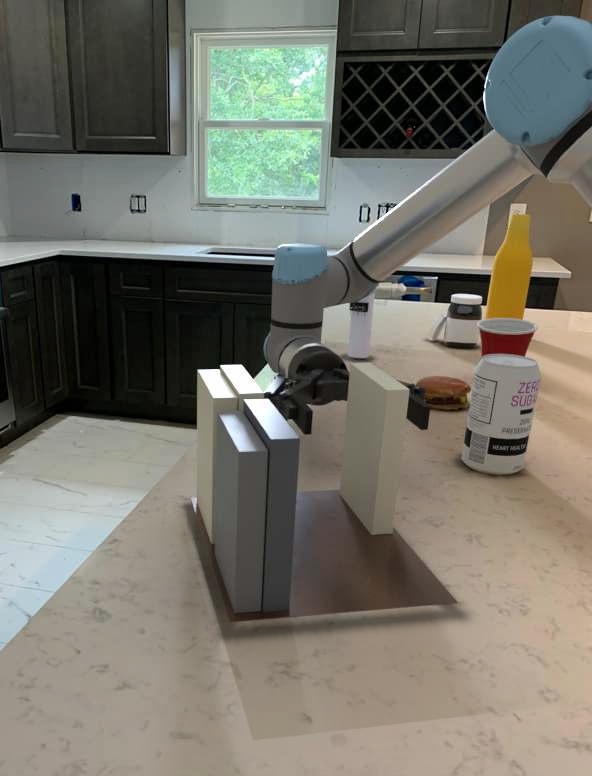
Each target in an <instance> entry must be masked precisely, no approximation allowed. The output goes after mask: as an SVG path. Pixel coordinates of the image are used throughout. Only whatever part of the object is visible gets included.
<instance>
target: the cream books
mask: <svg viewBox="0 0 592 776" xmlns="http://www.w3.org/2000/svg"><path fill="white" fill-rule="evenodd" d="M196 371H197V372H196V373H197V374H196V376H197V377H196V379H197V380H196V411H197V412H196V497H197V503H198V506H199V509H200V512H201V515H202V518H203V521H204V524H205V527H206V530H207V533H208V536H209V539H210V542H211V544H215V511H216V446H217V412H222V411H243V402H244V400H249V399H264V391H263V389H261V387H260V386H259V384H258V383H257V382H256V381H255V380H254V379H253V378H252V376H251V375H250V373H249V372H248V371H247V370H246V368H245V367H244V366H243V365H242V364H220V365H219V368H218V369H217V368H215V369H196Z"/></svg>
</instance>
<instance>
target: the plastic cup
mask: <svg viewBox="0 0 592 776" xmlns="http://www.w3.org/2000/svg"><path fill="white" fill-rule="evenodd" d="M477 326H478V328H479V330H480V332H479V339H480V356H481V357H480V359H481V360H482V357H483V356H485V355H489V354H511V355H519V356H524V357H526V354H527V353H528V352H527V351H528V349H529V346H530V344H531V341H532V339H533V337H534V335H535V333H536V331H537V330H538V329H539V325H538V324H537V323H534V322H532V321H530V320H525V319H523V320H521V319H511V318H494V319H486V320H484V319H481V321H480V322H478V323H477ZM481 360H480V361H481Z"/></svg>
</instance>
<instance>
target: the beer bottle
mask: <svg viewBox="0 0 592 776" xmlns="http://www.w3.org/2000/svg"><path fill="white" fill-rule="evenodd" d="M530 227H531V214H525V213H512V214H511V216H510V219H509V223H508V227H507V231H506V234H505V237H504V240H503V242H502V244H501V246H500V247H499V249H498V250H497V252H496V254H495V256H494V258H493V263H492V269H491V275H490V282H489V288H488V295H487V301H486V309H485V314H484V319H483V320H486V319H494V318H511V319H521V320H524V315H525V310H526V303H527V297H528V292H529V286H530V280H531V277H532V276H531V275H532V270H533V265H534V264H533V263H534V261H533V252H532V249H531V246H530Z"/></svg>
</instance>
